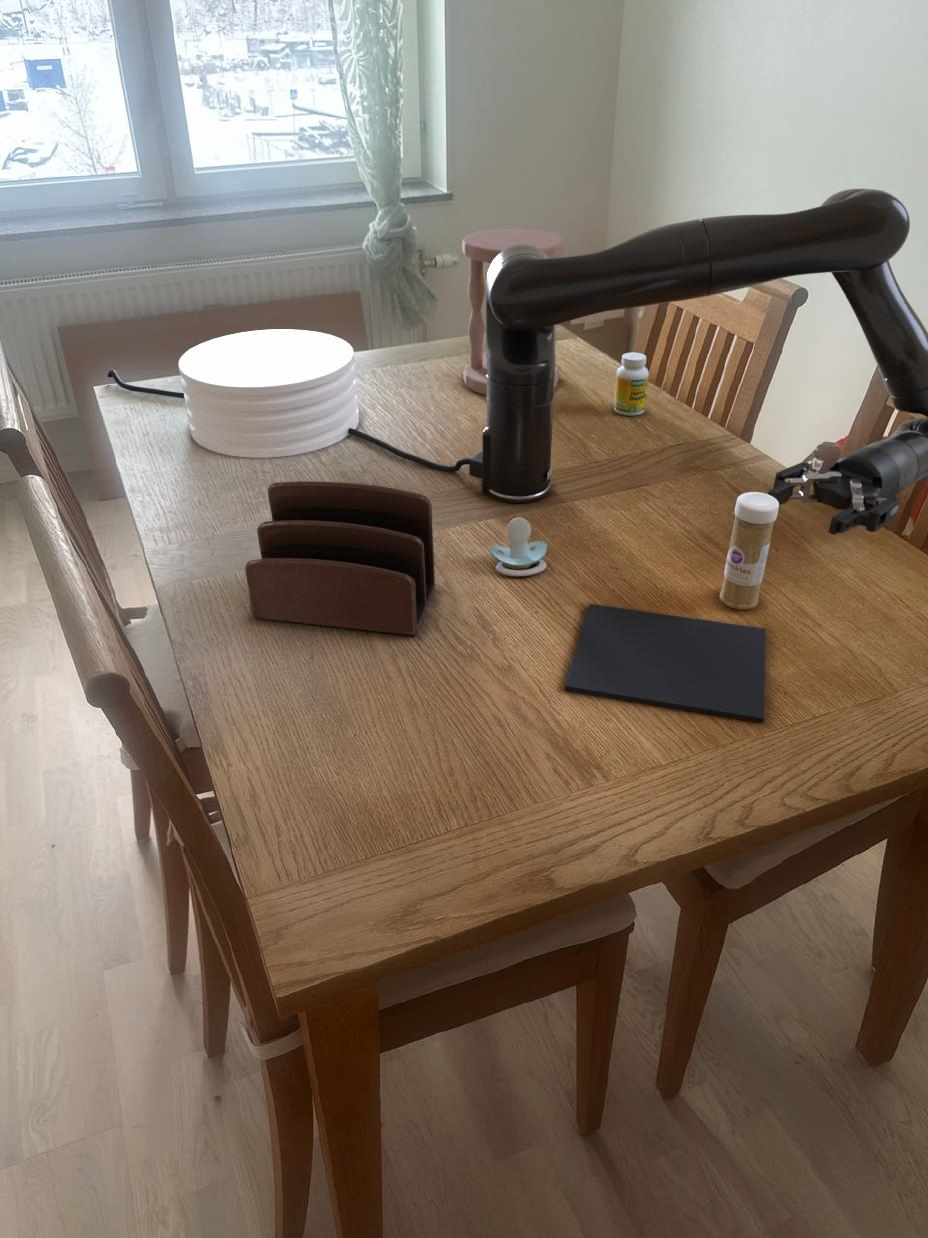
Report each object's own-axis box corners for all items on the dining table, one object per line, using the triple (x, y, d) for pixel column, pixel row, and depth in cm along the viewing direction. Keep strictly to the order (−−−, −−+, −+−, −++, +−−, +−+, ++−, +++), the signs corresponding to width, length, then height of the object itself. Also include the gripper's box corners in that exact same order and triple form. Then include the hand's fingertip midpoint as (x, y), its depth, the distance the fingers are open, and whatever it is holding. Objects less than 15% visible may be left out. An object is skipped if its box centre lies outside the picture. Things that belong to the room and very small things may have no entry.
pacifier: (553, 576, 115) (541, 551, 119) (556, 533, 111) (544, 509, 116) (495, 582, 114) (486, 556, 118) (496, 539, 110) (487, 514, 115)
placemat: (564, 690, 96) (565, 685, 96) (589, 607, 109) (589, 603, 108) (763, 723, 91) (764, 718, 91) (764, 632, 104) (765, 628, 104)
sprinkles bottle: (712, 602, 109) (729, 500, 102) (730, 586, 112) (748, 486, 104) (748, 615, 107) (768, 513, 99) (765, 599, 110) (786, 498, 102)
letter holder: (282, 575, 115) (267, 472, 107) (436, 591, 112) (433, 486, 104) (251, 620, 107) (233, 512, 99) (417, 638, 104) (411, 528, 96)
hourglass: (571, 372, 174) (579, 232, 160) (539, 404, 161) (545, 254, 147) (485, 360, 180) (486, 224, 166) (448, 390, 167) (445, 245, 153)
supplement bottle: (630, 402, 161) (635, 348, 156) (651, 412, 158) (657, 357, 152) (607, 409, 159) (611, 354, 153) (627, 419, 155) (633, 363, 150)
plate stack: (160, 421, 156) (147, 355, 150) (298, 380, 172) (291, 319, 165) (247, 474, 139) (236, 401, 132) (392, 423, 154) (388, 356, 148)
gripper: (830, 430, 121) (755, 465, 112) (935, 466, 111) (862, 506, 103) (818, 482, 125) (745, 519, 116) (918, 520, 116) (847, 564, 107)
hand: (800, 513), depth 110 cm, fingers open, 8 cm apart
